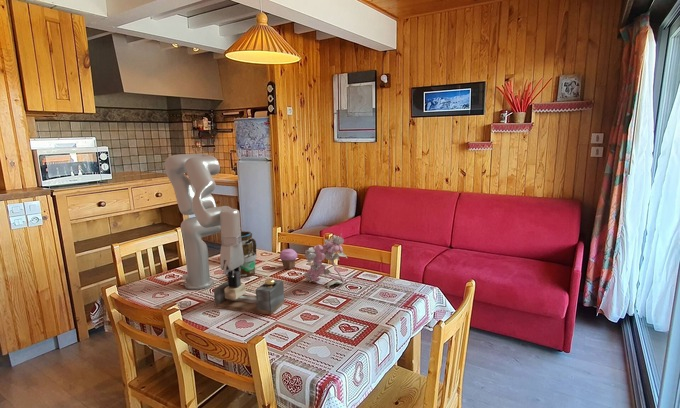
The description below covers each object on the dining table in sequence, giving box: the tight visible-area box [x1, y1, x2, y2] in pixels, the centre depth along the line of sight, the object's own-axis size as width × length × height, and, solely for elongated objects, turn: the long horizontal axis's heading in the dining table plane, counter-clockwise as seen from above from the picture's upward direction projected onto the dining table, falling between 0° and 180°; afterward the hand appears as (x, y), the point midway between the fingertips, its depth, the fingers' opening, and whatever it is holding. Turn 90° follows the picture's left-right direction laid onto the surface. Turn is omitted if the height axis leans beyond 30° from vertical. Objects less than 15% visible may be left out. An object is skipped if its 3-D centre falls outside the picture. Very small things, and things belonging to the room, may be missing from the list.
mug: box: [241, 230, 257, 256], centre depth 208 cm, size 20×14×15 cm
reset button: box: [264, 278, 275, 287], centre depth 149 cm, size 4×4×6 cm
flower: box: [302, 233, 348, 290], centre depth 174 cm, size 20×22×25 cm
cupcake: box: [279, 248, 298, 270], centre depth 196 cm, size 9×9×10 cm
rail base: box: [213, 279, 285, 316], centre depth 153 cm, size 25×11×10 cm, turn 72°
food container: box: [240, 252, 257, 279], centre depth 188 cm, size 12×6×10 cm, turn 168°
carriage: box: [224, 271, 246, 300], centre depth 154 cm, size 5×7×10 cm
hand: (234, 284), depth 155 cm, fingers closed on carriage, 2 cm apart
